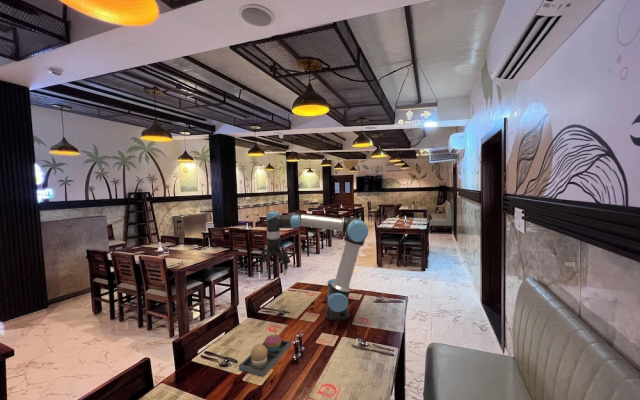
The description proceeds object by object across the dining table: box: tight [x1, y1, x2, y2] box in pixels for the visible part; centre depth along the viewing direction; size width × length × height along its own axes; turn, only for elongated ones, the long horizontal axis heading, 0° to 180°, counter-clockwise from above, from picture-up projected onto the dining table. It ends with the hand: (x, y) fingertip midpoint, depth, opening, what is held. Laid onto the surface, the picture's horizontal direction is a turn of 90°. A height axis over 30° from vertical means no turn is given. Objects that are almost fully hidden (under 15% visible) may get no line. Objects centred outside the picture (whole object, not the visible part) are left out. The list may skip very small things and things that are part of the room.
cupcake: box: [264, 328, 283, 353], centre depth 139 cm, size 9×8×12 cm
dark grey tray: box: [238, 339, 292, 377], centre depth 134 cm, size 13×25×3 cm, turn 158°
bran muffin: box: [250, 343, 268, 369], centre depth 128 cm, size 8×8×9 cm
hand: (274, 273), depth 164 cm, fingers open, 13 cm apart
